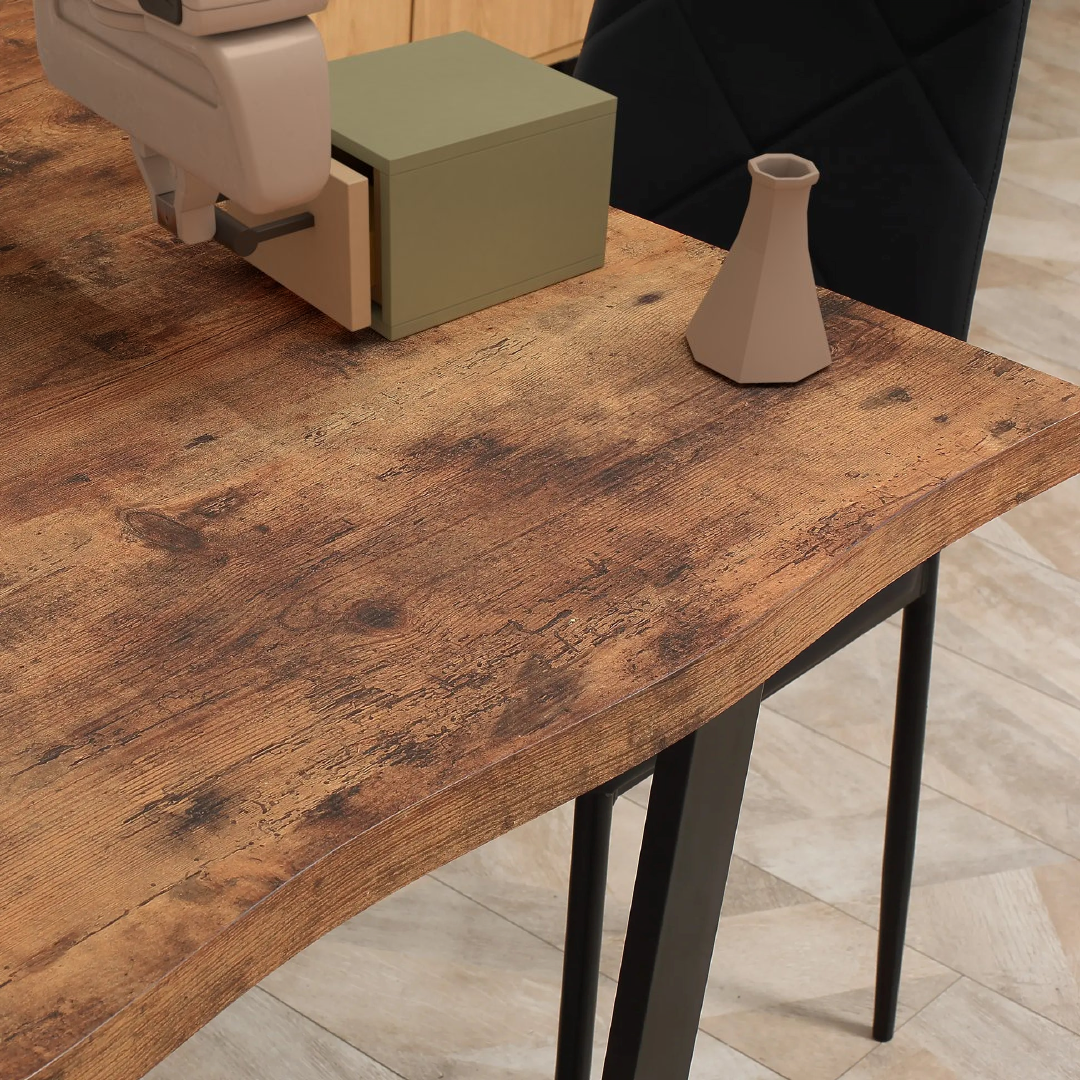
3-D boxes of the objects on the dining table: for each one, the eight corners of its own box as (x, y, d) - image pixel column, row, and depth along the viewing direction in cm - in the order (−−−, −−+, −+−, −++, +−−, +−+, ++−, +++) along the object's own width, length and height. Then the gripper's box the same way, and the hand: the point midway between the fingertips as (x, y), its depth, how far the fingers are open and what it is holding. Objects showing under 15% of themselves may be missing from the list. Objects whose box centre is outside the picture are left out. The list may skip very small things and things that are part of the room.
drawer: (271, 360, 74) (261, 208, 69) (150, 272, 80) (134, 128, 76) (556, 261, 84) (565, 122, 79) (428, 190, 90) (429, 58, 86)
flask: (732, 400, 74) (758, 207, 69) (659, 332, 80) (679, 146, 74) (856, 373, 77) (892, 185, 71) (778, 309, 82) (806, 128, 76)
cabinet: (391, 342, 78) (389, 160, 72) (254, 251, 85) (243, 80, 79) (604, 266, 86) (617, 97, 80) (462, 189, 93) (465, 29, 87)
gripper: (-23, -114, 70) (24, 175, 78) (215, 6, 58) (241, 333, 66) (104, -131, 73) (136, 147, 82) (353, -21, 61) (362, 293, 69)
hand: (185, 232), depth 74 cm, fingers closed, pressing on drawer
